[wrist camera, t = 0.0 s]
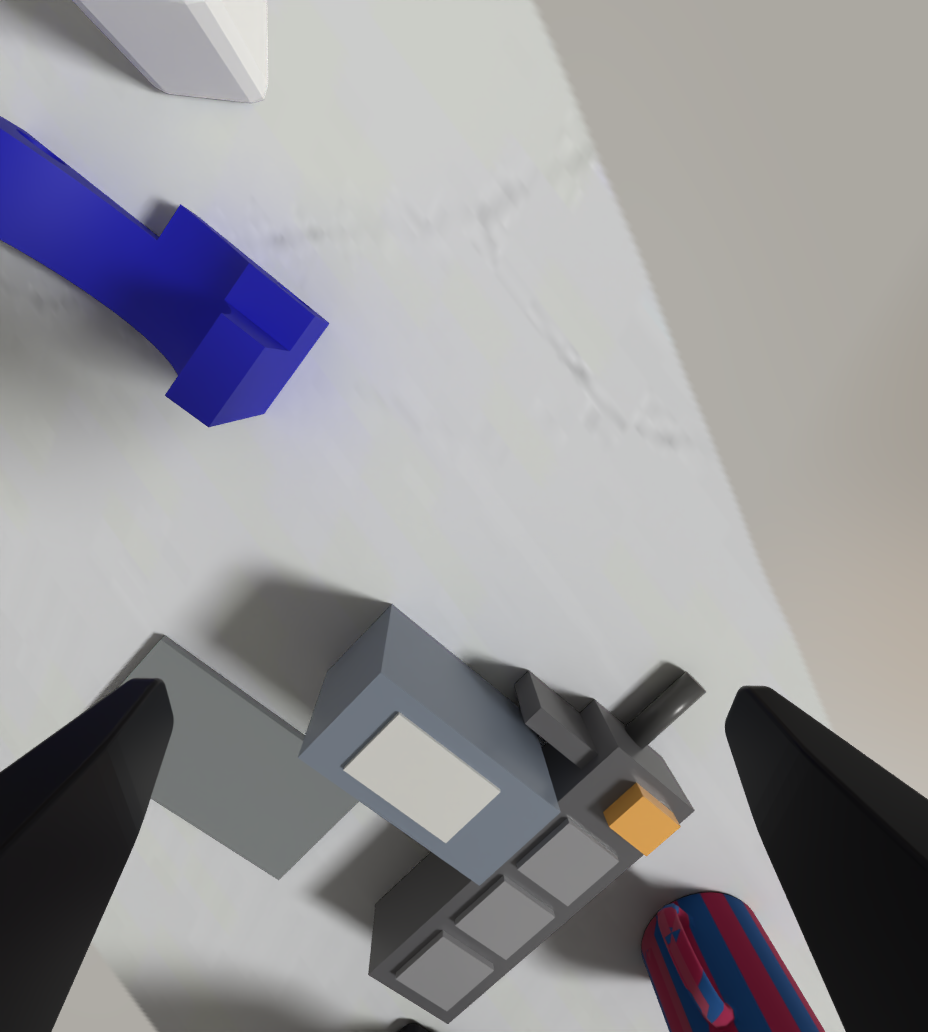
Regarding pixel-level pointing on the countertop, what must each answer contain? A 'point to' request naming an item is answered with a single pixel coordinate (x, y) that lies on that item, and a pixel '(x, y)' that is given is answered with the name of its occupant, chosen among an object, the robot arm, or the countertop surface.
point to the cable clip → (160, 283)
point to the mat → (238, 767)
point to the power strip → (536, 854)
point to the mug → (720, 970)
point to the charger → (430, 748)
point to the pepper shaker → (191, 44)
